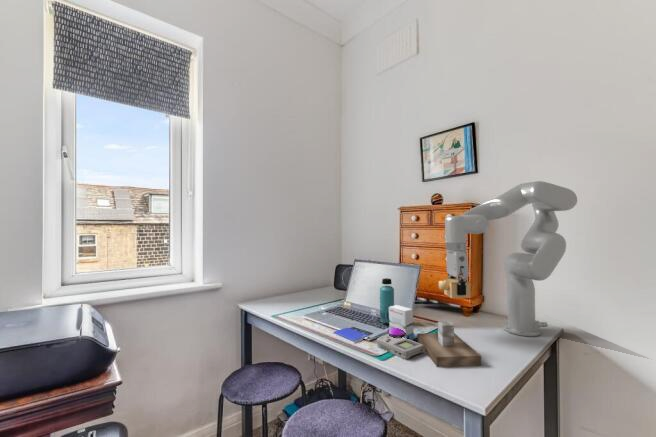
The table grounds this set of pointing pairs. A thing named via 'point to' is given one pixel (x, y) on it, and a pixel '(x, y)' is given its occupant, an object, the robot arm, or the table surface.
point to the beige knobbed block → (453, 288)
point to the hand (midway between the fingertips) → (457, 292)
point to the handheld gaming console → (400, 346)
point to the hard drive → (350, 335)
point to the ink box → (402, 319)
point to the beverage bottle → (386, 300)
